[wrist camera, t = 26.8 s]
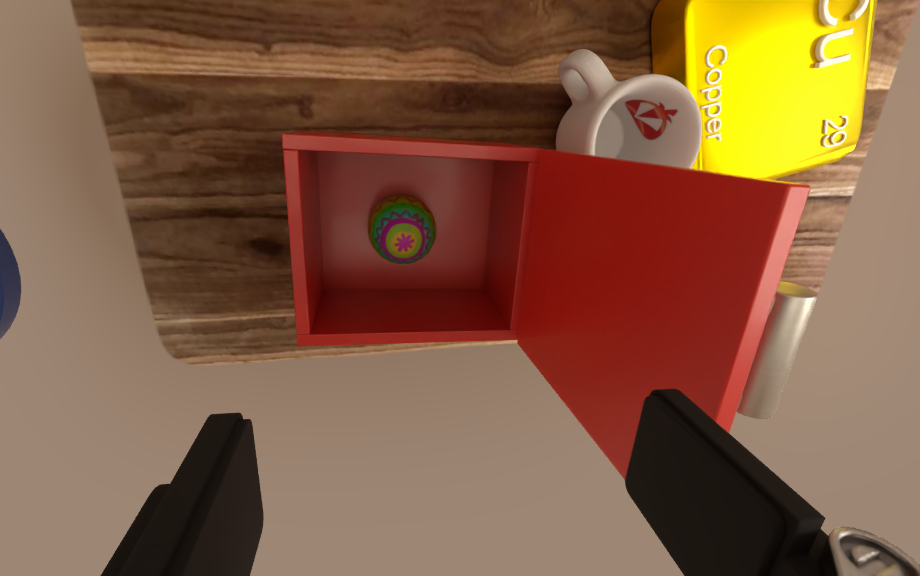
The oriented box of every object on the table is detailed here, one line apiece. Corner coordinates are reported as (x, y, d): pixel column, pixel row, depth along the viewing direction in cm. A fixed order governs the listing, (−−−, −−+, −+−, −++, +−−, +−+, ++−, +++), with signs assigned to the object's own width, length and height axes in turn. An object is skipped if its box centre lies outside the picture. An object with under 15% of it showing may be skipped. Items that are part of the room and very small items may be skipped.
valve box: (315, 295, 35) (297, 346, 27) (305, 130, 31) (281, 133, 23) (489, 293, 38) (520, 340, 30) (503, 142, 34) (543, 148, 26)
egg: (424, 258, 35) (433, 283, 30) (363, 246, 34) (360, 270, 28) (438, 198, 34) (450, 213, 28) (374, 184, 32) (374, 196, 27)
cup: (502, 99, 33) (539, 92, 25) (587, 26, 32) (650, -3, 25) (575, 209, 37) (625, 230, 29) (651, 147, 36) (722, 153, 29)
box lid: (675, 545, 15) (787, 522, 17) (789, 183, 11) (929, 189, 12) (516, 343, 29) (584, 339, 31) (539, 148, 25) (617, 152, 26)
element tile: (646, -4, 32) (689, -24, 27) (828, -48, 33) (897, -74, 29) (657, 196, 38) (694, 206, 33) (811, 152, 39) (867, 156, 34)
